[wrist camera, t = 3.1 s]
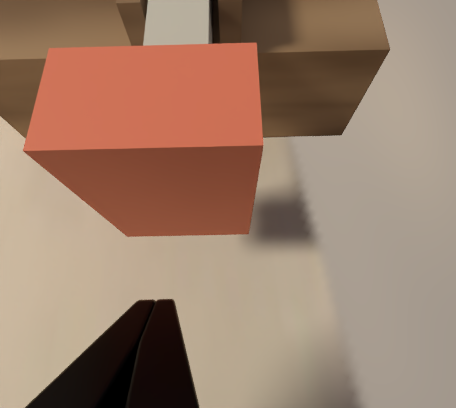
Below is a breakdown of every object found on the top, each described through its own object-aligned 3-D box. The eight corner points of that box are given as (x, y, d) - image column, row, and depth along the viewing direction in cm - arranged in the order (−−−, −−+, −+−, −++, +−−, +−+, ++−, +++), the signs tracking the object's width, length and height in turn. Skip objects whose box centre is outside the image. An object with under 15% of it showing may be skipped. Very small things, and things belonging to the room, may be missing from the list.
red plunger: (248, 234, 11) (263, 145, 6) (127, 236, 11) (23, 151, 6) (238, -13, 16) (241, -195, 10) (152, -10, 16) (108, -190, 10)
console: (341, 135, 18) (421, -6, 10) (30, 142, 18) (-119, 9, 10) (323, 32, 21) (375, -137, 13) (55, 40, 21) (-48, -124, 13)
